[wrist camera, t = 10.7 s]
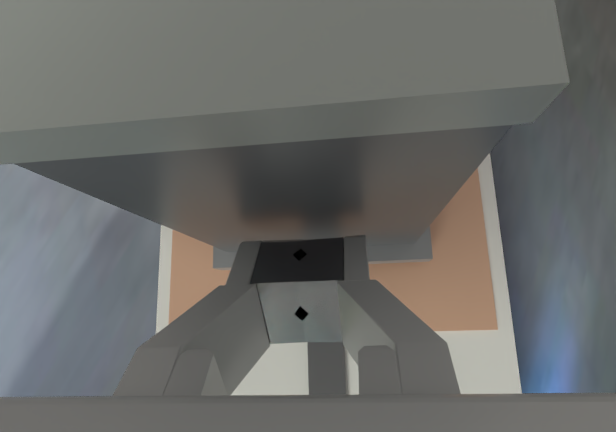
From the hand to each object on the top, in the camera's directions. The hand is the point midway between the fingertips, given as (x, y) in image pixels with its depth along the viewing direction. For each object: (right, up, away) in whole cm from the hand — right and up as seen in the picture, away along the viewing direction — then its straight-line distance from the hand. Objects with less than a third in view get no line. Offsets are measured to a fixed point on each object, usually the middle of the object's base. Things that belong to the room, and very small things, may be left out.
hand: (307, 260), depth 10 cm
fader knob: (0, +1, +4) cm, 4 cm away
